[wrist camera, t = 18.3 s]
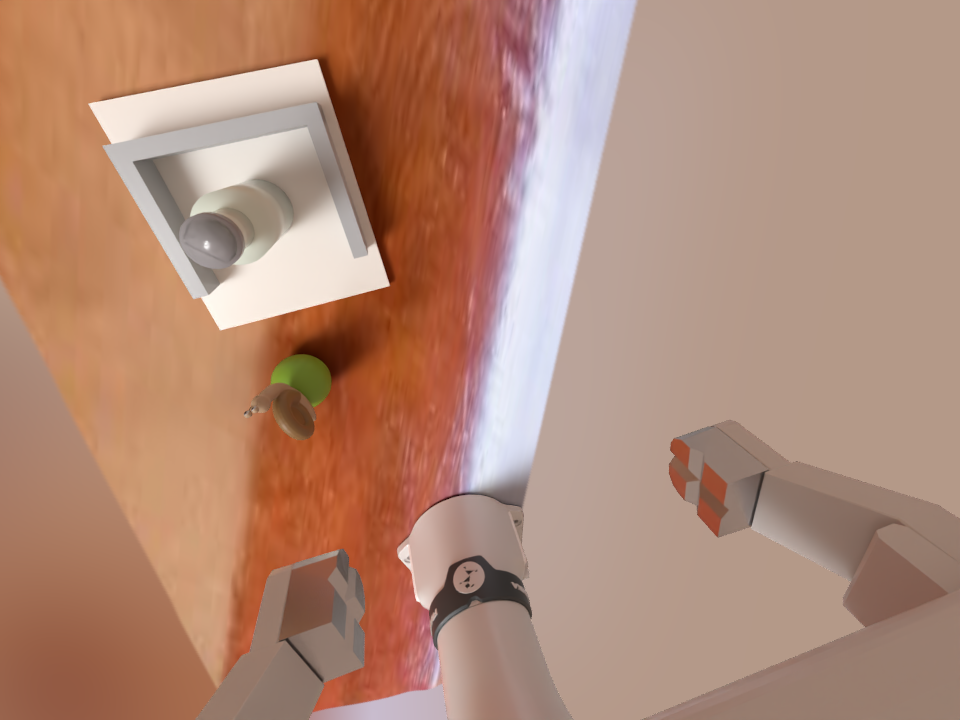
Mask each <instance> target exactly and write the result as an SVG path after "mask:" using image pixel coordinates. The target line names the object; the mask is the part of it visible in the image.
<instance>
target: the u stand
mask: <svg viewBox="0 0 960 720" xmlns="http://www.w3.org/2000/svg"><path fill="white" fill-rule="evenodd" d="M89 106H90V107H91V109H92V111H93V112H94V114H95V116H96V118H97V119H98V121H99V123H100V124H101V126H102V128H103V130H104V131H105V133H106V135H107V137H108V138H109V140H110V142H111V143H112V144H110V145H105V146H103V148H104V149H105V151H106V153H107V154H108V156H109V158H110V160H111V161H112V163H113V165H114V166H115V168H116V170H117V171H118V173H119V175H120V176H121V178H122V180H123V181H124V183H125V185H126V186H127V188H128V190H129V191H130V193H131V195H132V197H133V198H134V200H135V202H136V203H137V205H138V207H139V208H140V210H141V212H142V213H143V215H144V217H145V218H146V220H147V222H148V223H149V225H150V227H151V229H152V230H153V232H154V234H155V235H156V237H157V239H158V240H159V242H160V244H161V245H162V247H163V249H164V250H165V252H166V254H167V255H168V257H169V259H170V260H171V262H172V264H173V266H174V267H175V269H176V271H177V272H178V274H179V276H180V277H181V279H182V281H183V282H184V284H185V286H186V287H187V289H188V291H189V292H190V294H191V296H192V297H193V299H196V298H200V297H201V298H202V300H203V301H204V303H205V305H206V307H207V308H208V310H209V312H210V313H211V315H212V317H213V319H214V320H215V322H216V324H217V325H218V327H219V329H220V330H224V329H227V328H231V327H235V326H239V325H243V324H247V323H250V322H254V321H258V320H262V319H266V318H269V317H273V316H277V315H281V314H285V313H288V312H292V311H296V310H300V309H304V308H308V307H311V306H315V305H319V304H323V303H327V302H330V301H334V300H338V299H342V298H346V297H350V296H353V295H357V294H361V293H365V292H369V291H372V290H376V289H380V288H384V287H388V286H390V284H389V280H388V277H387V274H386V271H385V268H384V265H383V262H382V259H381V255H380V252H379V249H378V246H377V243H376V240H375V237H374V234H373V230H372V227H371V224H370V221H369V218H368V215H367V212H366V209H365V205H364V202H363V199H362V196H361V193H360V190H359V187H358V183H357V180H356V177H355V174H354V171H353V168H352V165H351V162H350V158H349V155H348V152H347V149H346V146H345V143H344V140H343V137H342V133H341V130H340V127H339V124H338V121H337V118H336V115H335V111H334V108H333V105H332V102H331V99H330V96H329V93H328V90H327V86H326V83H325V80H324V77H323V74H322V71H321V68H320V65H319V61H318V60H317V59H315V60H310V61H305V62H300V63H295V64H290V65H284V66H279V67H274V68H269V69H264V70H259V71H254V72H249V73H243V74H238V75H233V76H228V77H223V78H218V79H213V80H207V81H202V82H197V83H192V84H187V85H182V86H177V87H171V88H166V89H161V90H156V91H151V92H146V93H141V94H136V95H130V96H125V97H120V98H115V99H110V100H105V101H100V102H94V103H89ZM254 179H259V180H265V181H268V182H271V183H273V184H275V185H276V186H278V187H279V188H281V189H282V190H283V191H284V192H285V193H286V195H287V196H288V198H289V199H290V201H291V203H292V206H293V212H294V217H293V222H292V225H291V226H290V228H289V229H288V230H287V232H286V233H285V234H284V235H283V236H282V237H281V238H280V239H279V240H278V241H277V242H276V243H275V244H274V245H273V246H272V247H271V248H270V249H269V251H268V252H267V253H266V254H265V255H264V256H263V257H262V258H260V259H259V260H257V261H255V262H253V263H250V264H245V265H234V264H233V265H231V266H229V267H227V268H223V269H211V268H207V267H204V266H201V265H199V264H197V263H196V262H194V261H193V260H192V259H191V258H190V257H189V256H188V255H187V254H186V253H185V252H184V250H183V248H182V246H181V244H180V240H179V231H180V227H181V225H182V224H183V222H184V221H185V220H186V219H188V218H189V217H190V214H191V210H192V208H193V206H194V204H195V203H196V201H197V200H198V199H199V198H200V197H202V196H203V195H205V194H207V193H210V192H213V191H216V190H220V189H223V188H226V187H229V186H233V185H236V184H239V183H242V182H246V181H249V180H254Z"/></svg>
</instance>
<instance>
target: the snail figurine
mask: <svg viewBox="0 0 960 720" xmlns="http://www.w3.org/2000/svg"><path fill="white" fill-rule="evenodd" d="M331 382H332V380H331V374H330V371H329V369H328V368H327V366H326V365H325V364H324V363H323V362H322V361H321V360H319V359H318V358H316V357H314V356H311V355H306V354H298V355H293V356H290V357H288V358H286V359H284V360H282V361H281V362H280V363H279V364H278V365H277V366H276V368H275V369H274V371H273V373H272V377H271V385H269V386H268V387H266V388H265V389H264V390H263V391H262V392H261V393H260V394H259V395H258V396H255V397H254V398H253V400H252V402H251V407H250V409H251V408H252V409H251V411H252V412H253V413H257V412H259V413H264V412H266V411H268V410H269V408H270V405H271V402H272V401H273V400H274V401H273V414H274V417H275V419H276V421H277V423H278V425H279V426H280V428H281V429H282V430H283V431H284V432H285V433H286V434H287V435H289V436H290V437H292V438H294V439H297V440H306V439H308V438H310V437H311V436H312V434H313V432H314V421H315V420H316V414H315V411H314V408H313V407H315V406H317V405H318V404H320V403H321V402H322V401H323V400H324V399H325V398H326V397H327V395H328V394H329V391H330V389H331ZM250 409H249V411H246V412H245V413H244V416H245V417H246V418H249V417H251V416H252V412H251V411H250Z"/></svg>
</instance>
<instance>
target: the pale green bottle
mask: <svg viewBox="0 0 960 720" xmlns="http://www.w3.org/2000/svg"><path fill="white" fill-rule="evenodd" d="M293 217H294V212H293V206H292V203H291V201H290V199H289V198H288V196H287V195H286V193H285V192H284V191H283V190H282V189H281V188H279V187H278V186H276V185H275V184H273V183H271V182H268V181H265V180H259V179H254V180H249V181H246V182H242V183H239V184H236V185H233V186H229V187H226V188H223V189H220V190H216V191H213V192H210V193H207V194H205V195H203V196H202V197H200V198H199V199H198V200H197V201H196V203H195V204H194V206H193V208H192V210H191V214H190V217H189V218H188V219H186V220H185V221H184V222H183V224H182V225H181V227H180V231H179V240H180V244H181V246H182V248H183V250H184V252H185V253H186V254H187V255H188V256H189V257H190V258H191V259H192V260H193V261H194V262H196V263H197V264H199V265H201V266H204V267H207V268H211V269H223V268H227V267H229V266H231V265H233V264H234V265H245V264H250V263H253V262H255V261H257V260H259V259H260V258H262V257H263V256H264V255H265V254H266V253H267V252H268V251H269V249H270V248H271V247H272V246H273V245H274V244H275V243H276V242H277V241H278V240H279V239H280V238H281V237H282V236H283V235H284V234H285V233H286V232H287V230H288V229H289V228H290V226H291V225H292V222H293Z"/></svg>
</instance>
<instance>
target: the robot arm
mask: <svg viewBox="0 0 960 720" xmlns="http://www.w3.org/2000/svg"><path fill="white" fill-rule="evenodd" d="M670 450H671V452H672V453H673V454H674V455H675V456H674V458H673V459H672V461H671V462H670V463H669V475H670V478H671V480H672V483H673V485H674V487H675V488H676V490H677V492H678V493H679V494H680V495H681V497H682V498H683V499H684V500H685V501H688V502H690V503H692V504H695V505H697V515H698V516H699V517H700V518H701V519H702V521H703V522H704V523H705V524H706V525H707V526H708V527H709V528H710V530H711V531H712V532H713V533H714V534H715V535H716V536H717V537H721V536H724V535H727V534H730V533H734V532H737V531H740V530H742V529H745V528H749V527H751V529H753V530H754V531H756V532H758V533H760V534H762V535H764V536H766V537H768V538H770V539H772V540H773V541H775V542H777V543H779V544H781V545H783V546H785V547H787V548H789V549H791V550H792V551H794V552H796V553H798V554H800V555H802V556H804V557H806V558H807V559H809V560H811V561H813V562H815V563H817V564H819V565H821V566H823V567H825V568H826V569H828V570H830V571H832V572H834V573H836V574H838V575H840V576H842V577H844V578H845V579H847V580H849V581H851V583H850V585H849V587H848V589H847V591H846V593H845V595H844V597H843V606H844V607H846V608H847V610H848V611H849V612H851V614H853V615H854V617H855V618H856V619H858V621H859V622H860V623H862V624H863V625H864V626H865V627H866V628H863V629H861V630H859V631H856V632H854V633H851V634H849V635H846V636H844V637H841V638H839V639H837V640H834V641H832V642H829V643H827V644H824V645H822V646H820V647H817V648H815V649H813V650H810V651H807V652H805V653H802V654H800V655H798V656H795V657H793V658H790V659H788V660H785V661H783V662H781V663H778V664H776V665H773V666H771V667H769V668H766V669H764V670H761V671H759V672H757V673H754V674H752V675H749V676H747V677H744V678H742V679H739V680H737V681H734V682H732V683H730V684H727V685H725V686H722V687H720V688H717V689H715V690H713V691H710V692H708V693H705V694H703V695H701V696H698V697H696V698H693V699H691V700H688V701H686V702H683V703H681V704H678V705H676V706H674V707H671V708H669V709H666V710H664V711H661V712H659V713H657V714H654V715H652V716H650V717H647V718H644V719H642V720H960V518H958V517H956V516H955V515H953V514H952V513H950V512H949V511H947V510H945V509H944V508H942V507H941V506H939V505H937V504H933V503H930V502H927V501H924V500H921V499H917V498H914V497H911V496H908V495H904V494H901V493H898V492H895V491H891V490H888V489H885V488H882V487H878V486H875V485H872V484H869V483H866V482H862V481H859V480H856V479H852V478H849V477H846V476H843V475H840V474H837V473H833V472H830V471H827V470H823V469H820V468H817V467H814V466H811V465H807V464H804V463H800V462H798V461H796V462H793V463H790V462H789V461H788V460H786V459H785V458H784V457H782V456H781V455H780V454H778V453H777V452H776V451H774V450H773V449H772V448H770V447H769V446H768V445H767V444H765V443H764V442H762V441H761V440H760V439H759V438H757V437H756V436H754V435H753V434H752V433H751V432H749V431H748V430H746V429H745V428H744V427H743V426H741V425H740V424H739V423H737V422H735V421H732V420H728V421H725V422H722V423H719V424H716V425H713V426H710V427H706V428H703V429H700V430H697V431H694V432H691V433H688V434H686V435H683V436H680V437H677V438H674V439H673V441H672V442H671V448H670ZM523 517H524V515H523V511H522V508H521V507H519V506H514V505H505V504H502V503H500V502H499V501H497V500H495V499H493V498H490V497H487V496H483V495H462V496H457V497H453V498H450V499H447V500H445V501H442V502H440V503H438V504H436V505H435V506H433V507H432V508H430V509H429V510H427V511H426V512H425V513H424V514H423V515H422V516H421V517H420V518H419V519H418V521H417V522H416V524H415V526H414V528H413V530H412V532H411V534H410V536H409V537H408V538H407V539H406V540H405V541H404V542H403V543H402V544H401V545H400V546H399V547H398V549H397V552H398V557H399V558H400V560H401V561H402V562H403V563H404V564H405V565H406V566H407V567H408V568H409V569H410V570H411V572H412V578H413V585H414V592H415V597H416V600H417V601H418V602H420V603H421V605H422V606H423V607H425V608H426V609H428V610H429V616H430V630H431V635H432V636H433V642H434V646H435V647H436V649H437V650H438V653H439V660H440V668H441V675H442V683H443V690H444V698H445V705H446V712H447V719H448V720H574V719H573V718H572V716H571V714H570V713H569V711H568V710H567V708H566V706H565V704H564V702H563V701H562V699H561V697H560V695H559V693H558V691H557V689H556V687H555V684H554V682H553V680H552V677H551V675H550V672H549V669H548V667H547V664H546V661H545V658H544V655H543V653H542V650H541V647H540V644H539V641H538V639H537V636H536V633H535V630H534V627H533V624H532V621H531V617H532V611H531V607H530V602H529V598H528V595H527V592H526V591H525V589H524V585H523V583H522V580H524V579H527V578H529V571H528V562H527V559H526V557H525V554H524V551H523V548H522V545H521V543H522V531H523ZM364 613H365V597H364V590H363V584H362V581H361V578H360V575H359V574H358V572H357V570H356V569H354V568H351V567H349V557H348V555H347V554H346V552H345V551H344V549H340V550H337V551H333V552H330V553H327V554H323V555H320V556H317V557H313V558H310V559H307V560H303V561H300V562H297V563H294V564H291V565H288V566H284V567H281V568H278V569H275V570H272V572H271V573H270V575H269V577H268V578H267V582H266V586H265V590H264V594H263V598H262V603H261V607H260V611H259V615H258V619H257V623H256V627H255V632H254V636H253V640H252V644H251V648H250V652H249V653H247V654H244V655H242V656H241V657H240V659H239V660H238V661H237V663H236V664H235V666H234V667H233V668H232V670H231V671H230V672H229V674H228V675H227V677H226V678H225V679H224V681H223V682H222V684H221V685H220V686H219V688H218V689H217V690H216V692H215V693H214V695H213V696H212V698H211V699H210V700H209V702H208V703H207V704H206V706H205V707H204V709H203V710H202V711H201V713H200V714H199V715H198V717H197V718H196V720H309V718H310V715H311V714H312V711H313V709H314V707H315V705H316V703H317V700H318V698H319V696H320V694H321V692H322V690H323V687H324V684H323V683H324V682H327V681H329V680H332V679H334V678H337V677H339V676H342V675H344V674H347V673H349V672H352V671H354V670H357V669H360V668H362V667H364V638H365V633H364V631H363V630H362V628H361V627H360V625H359V624H358V623H359V622H360V620H361V618H362V616H363V614H364Z"/></svg>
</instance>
